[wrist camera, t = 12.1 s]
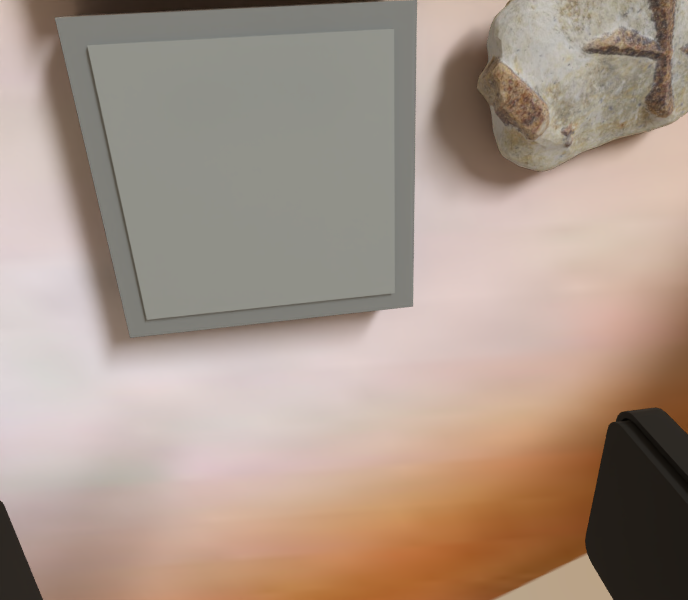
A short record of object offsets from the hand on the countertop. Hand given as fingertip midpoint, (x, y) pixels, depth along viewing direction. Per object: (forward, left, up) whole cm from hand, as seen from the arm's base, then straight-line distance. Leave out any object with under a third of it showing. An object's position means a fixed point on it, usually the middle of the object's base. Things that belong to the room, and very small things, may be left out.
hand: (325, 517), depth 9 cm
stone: (-12, -6, -23) cm, 27 cm away
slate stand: (0, 0, -23) cm, 23 cm away
